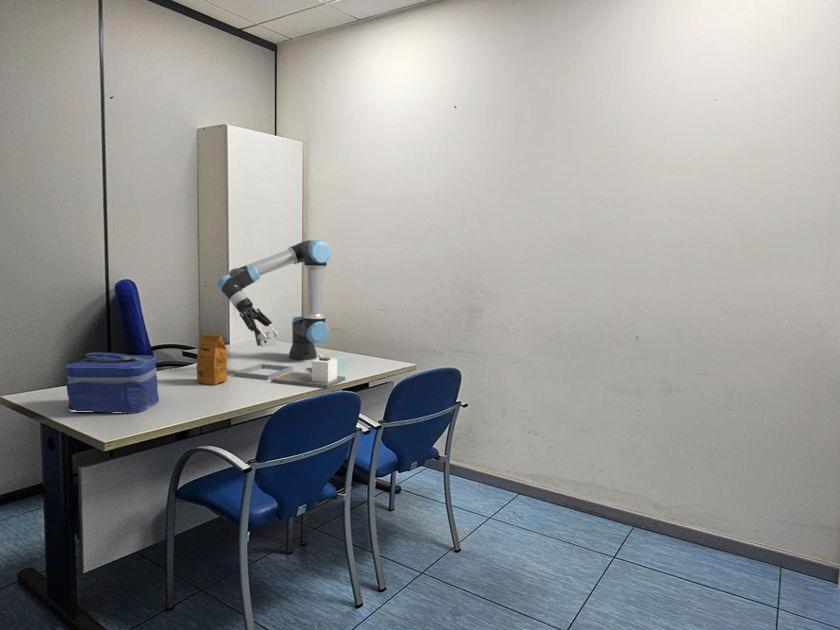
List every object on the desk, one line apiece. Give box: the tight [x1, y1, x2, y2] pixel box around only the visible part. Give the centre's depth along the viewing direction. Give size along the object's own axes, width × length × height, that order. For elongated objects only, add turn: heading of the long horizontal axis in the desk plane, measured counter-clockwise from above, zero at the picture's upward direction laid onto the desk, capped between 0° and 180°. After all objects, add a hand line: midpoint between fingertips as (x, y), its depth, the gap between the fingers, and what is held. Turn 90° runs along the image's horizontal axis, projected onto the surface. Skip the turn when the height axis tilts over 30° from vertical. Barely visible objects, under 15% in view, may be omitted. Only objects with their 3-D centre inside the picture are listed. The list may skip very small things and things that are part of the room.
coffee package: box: [196, 332, 228, 386], centre depth 250 cm, size 10×12×22 cm
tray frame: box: [234, 363, 294, 381], centre depth 272 cm, size 22×18×2 cm
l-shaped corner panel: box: [318, 353, 348, 373], centre depth 282 cm, size 12×12×8 cm
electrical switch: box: [253, 325, 276, 348], centre depth 269 cm, size 9×5×9 cm, turn 151°
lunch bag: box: [65, 351, 160, 414], centre depth 209 cm, size 31×21×20 cm
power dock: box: [270, 356, 346, 389], centre depth 257 cm, size 18×28×11 cm, turn 72°
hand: (270, 337), depth 268 cm, fingers closed on electrical switch, 9 cm apart
